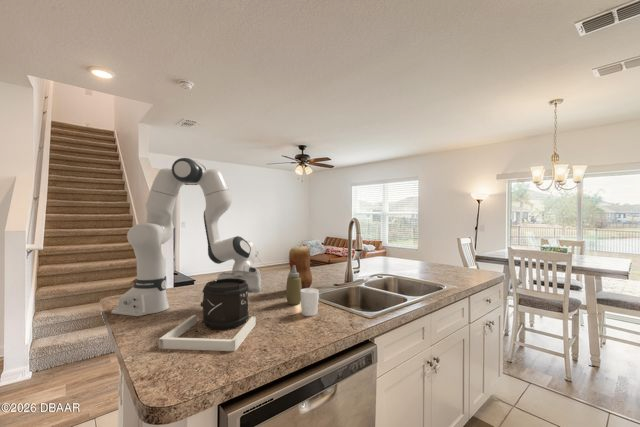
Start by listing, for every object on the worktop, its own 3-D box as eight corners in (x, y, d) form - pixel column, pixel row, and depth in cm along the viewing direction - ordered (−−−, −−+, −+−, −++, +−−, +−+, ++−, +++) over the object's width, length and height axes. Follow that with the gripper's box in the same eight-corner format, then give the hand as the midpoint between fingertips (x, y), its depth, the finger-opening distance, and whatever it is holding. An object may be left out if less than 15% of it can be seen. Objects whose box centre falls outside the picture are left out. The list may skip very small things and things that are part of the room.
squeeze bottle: (305, 303, 144) (306, 265, 144) (293, 306, 138) (293, 267, 138) (294, 299, 149) (294, 263, 149) (281, 303, 143) (282, 265, 143)
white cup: (321, 312, 131) (321, 289, 131) (313, 317, 124) (313, 293, 124) (305, 309, 134) (305, 287, 134) (297, 315, 127) (297, 291, 127)
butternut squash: (282, 291, 165) (282, 245, 165) (301, 287, 174) (301, 244, 174) (298, 296, 155) (299, 248, 155) (317, 291, 164) (317, 246, 164)
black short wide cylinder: (203, 316, 125) (203, 278, 125) (248, 312, 130) (248, 276, 130) (197, 333, 108) (197, 289, 108) (249, 328, 112) (249, 286, 112)
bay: (158, 348, 96) (158, 339, 96) (193, 322, 118) (193, 314, 118) (235, 351, 94) (235, 341, 94) (255, 324, 116) (255, 316, 116)
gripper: (217, 268, 136) (207, 296, 126) (261, 269, 134) (255, 297, 125) (221, 276, 140) (212, 303, 130) (264, 276, 139) (258, 304, 129)
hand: (234, 300), depth 127 cm, fingers closed, pressing on black short wide cylinder
